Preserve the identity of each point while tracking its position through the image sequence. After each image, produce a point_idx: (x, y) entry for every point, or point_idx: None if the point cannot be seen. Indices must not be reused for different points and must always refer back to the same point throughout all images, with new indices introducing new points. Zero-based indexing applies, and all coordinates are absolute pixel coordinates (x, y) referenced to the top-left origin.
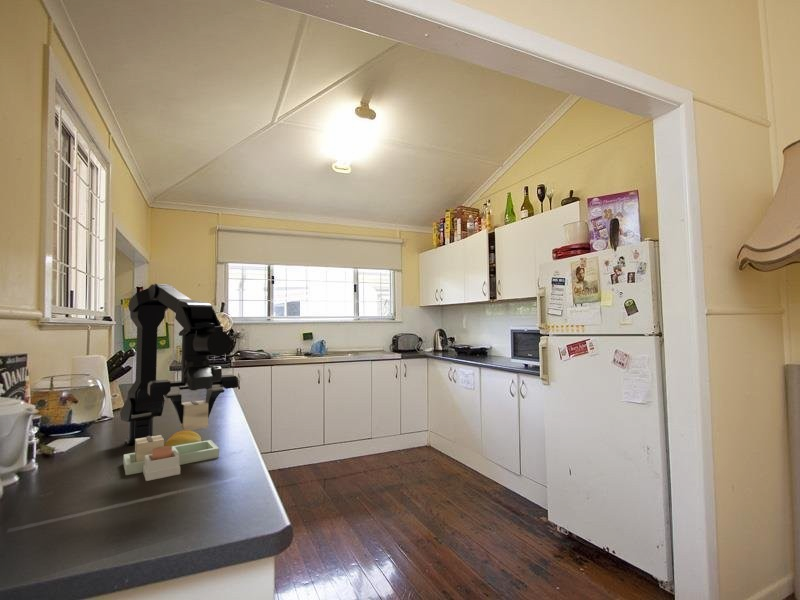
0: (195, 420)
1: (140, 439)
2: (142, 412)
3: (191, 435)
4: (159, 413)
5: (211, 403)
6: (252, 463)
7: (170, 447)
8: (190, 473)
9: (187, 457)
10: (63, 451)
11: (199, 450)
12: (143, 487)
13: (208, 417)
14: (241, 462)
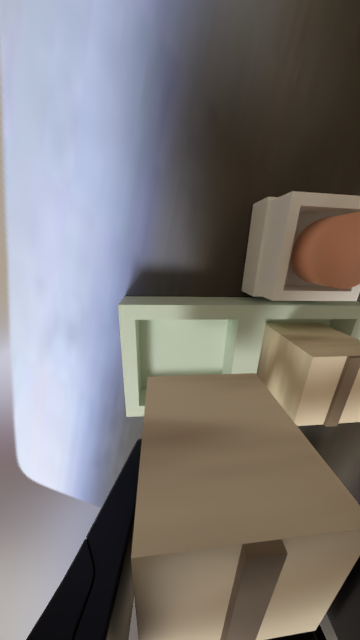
0: (219, 405)
1: (357, 406)
2: None
3: None
4: None
5: (90, 575)
6: (25, 160)
7: (326, 245)
8: (223, 211)
9: (217, 302)
10: None
11: None
12: (348, 177)
13: (133, 448)
14: (63, 207)
